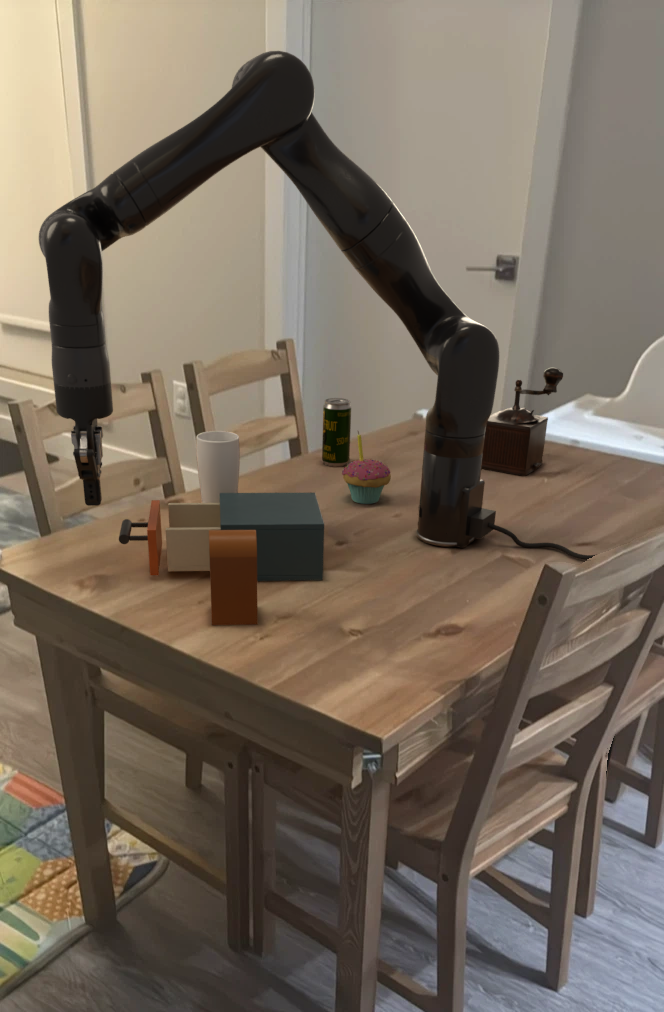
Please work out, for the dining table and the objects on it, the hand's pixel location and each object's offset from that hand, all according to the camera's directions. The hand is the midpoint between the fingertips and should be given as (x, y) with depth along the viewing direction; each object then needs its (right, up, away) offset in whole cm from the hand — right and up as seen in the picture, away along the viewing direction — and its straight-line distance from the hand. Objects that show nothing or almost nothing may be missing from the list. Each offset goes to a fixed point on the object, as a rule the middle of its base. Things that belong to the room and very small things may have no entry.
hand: (93, 503), depth 141 cm
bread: (+21, -17, -9) cm, 29 cm away
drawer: (+12, -7, +6) cm, 15 cm away
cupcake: (+40, +8, +34) cm, 54 cm away
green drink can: (+35, +19, +53) cm, 67 cm away
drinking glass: (+16, 0, +20) cm, 25 cm away
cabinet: (+25, -7, +7) cm, 27 cm away
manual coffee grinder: (+71, +20, +57) cm, 93 cm away
